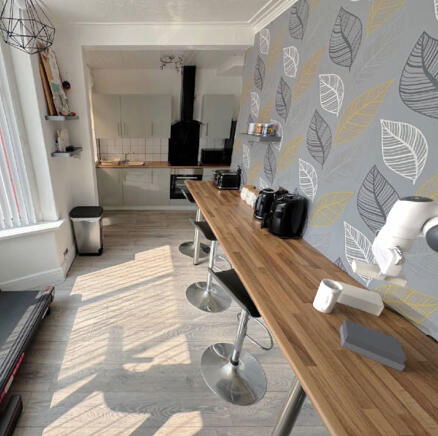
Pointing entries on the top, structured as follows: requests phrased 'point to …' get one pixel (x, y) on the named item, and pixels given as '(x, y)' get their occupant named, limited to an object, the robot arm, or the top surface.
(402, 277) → the cream rectangular block
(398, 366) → the grey rectangular block
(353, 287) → the white rectangular block
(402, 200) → the robot arm
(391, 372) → the top surface
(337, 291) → the mug
